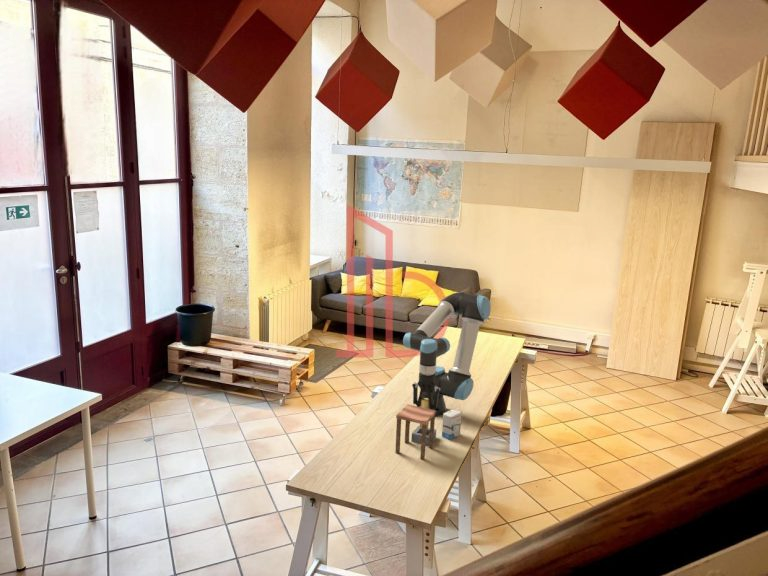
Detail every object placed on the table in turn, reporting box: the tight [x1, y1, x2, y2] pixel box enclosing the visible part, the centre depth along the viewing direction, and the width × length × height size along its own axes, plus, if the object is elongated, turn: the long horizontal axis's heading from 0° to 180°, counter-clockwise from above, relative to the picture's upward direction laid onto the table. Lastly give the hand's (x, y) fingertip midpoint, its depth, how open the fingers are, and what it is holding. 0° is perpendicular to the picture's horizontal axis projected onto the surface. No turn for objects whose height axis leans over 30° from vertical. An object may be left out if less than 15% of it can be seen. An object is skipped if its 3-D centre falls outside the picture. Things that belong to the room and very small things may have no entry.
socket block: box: [411, 425, 437, 446], centre depth 283 cm, size 9×9×4 cm
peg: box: [419, 398, 430, 429], centre depth 280 cm, size 4×4×14 cm
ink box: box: [441, 409, 462, 440], centre depth 286 cm, size 9×5×12 cm, turn 135°
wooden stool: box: [394, 403, 436, 461], centre depth 270 cm, size 13×14×18 cm
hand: (424, 419), depth 280 cm, fingers closed on peg, 4 cm apart
